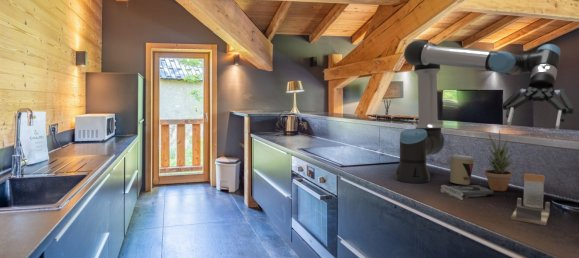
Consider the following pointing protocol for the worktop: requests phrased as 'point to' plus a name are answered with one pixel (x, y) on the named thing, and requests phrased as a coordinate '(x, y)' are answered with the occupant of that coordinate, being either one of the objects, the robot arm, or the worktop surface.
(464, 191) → the graphics card
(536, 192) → the latch lever
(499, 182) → the potted plant
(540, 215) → the base
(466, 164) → the coffee cup
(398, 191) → the worktop surface
